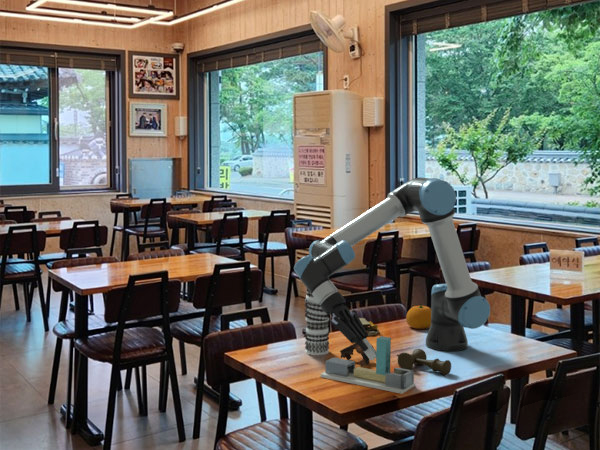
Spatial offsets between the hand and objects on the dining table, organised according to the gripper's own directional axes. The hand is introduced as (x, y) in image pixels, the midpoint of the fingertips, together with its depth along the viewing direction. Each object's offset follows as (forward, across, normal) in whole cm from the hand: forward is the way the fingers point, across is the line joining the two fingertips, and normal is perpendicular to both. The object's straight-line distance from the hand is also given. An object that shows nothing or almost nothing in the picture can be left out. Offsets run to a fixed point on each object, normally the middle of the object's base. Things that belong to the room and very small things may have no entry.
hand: (374, 357), depth 229 cm
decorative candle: (-18, -20, -30) cm, 40 cm away
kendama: (+10, -22, -2) cm, 24 cm away
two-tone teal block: (+5, 0, -5) cm, 7 cm away
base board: (+3, 0, -8) cm, 9 cm away
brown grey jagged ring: (-5, -16, -17) cm, 24 cm away
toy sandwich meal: (-19, -54, -31) cm, 65 cm away
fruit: (-8, -74, -20) cm, 77 cm away
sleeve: (-3, 0, -14) cm, 15 cm away
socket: (+12, 0, 0) cm, 12 cm away
